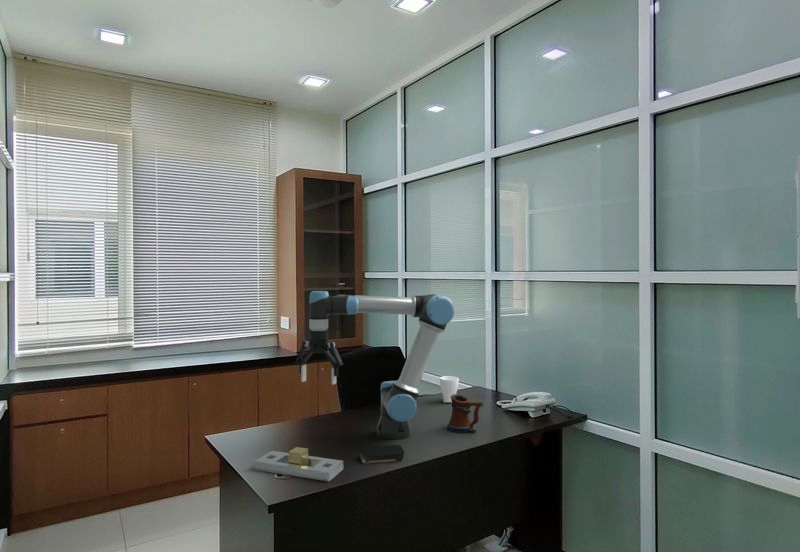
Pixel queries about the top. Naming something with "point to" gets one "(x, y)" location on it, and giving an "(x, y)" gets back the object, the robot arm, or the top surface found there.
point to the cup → (448, 387)
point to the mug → (462, 414)
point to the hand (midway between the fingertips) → (318, 382)
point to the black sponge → (381, 454)
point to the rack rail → (299, 466)
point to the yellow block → (298, 456)
